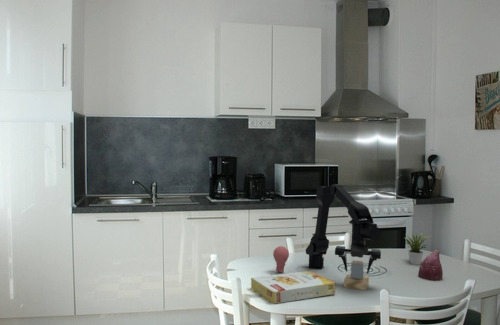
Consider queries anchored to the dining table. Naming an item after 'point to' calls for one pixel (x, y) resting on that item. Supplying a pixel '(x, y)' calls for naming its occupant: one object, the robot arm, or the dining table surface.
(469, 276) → the dining table surface
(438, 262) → the vegetable
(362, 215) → the robot arm
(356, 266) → the grey box
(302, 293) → the cereal box
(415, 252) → the house plant
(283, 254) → the light bulb
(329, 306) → the dining table surface
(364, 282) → the block
